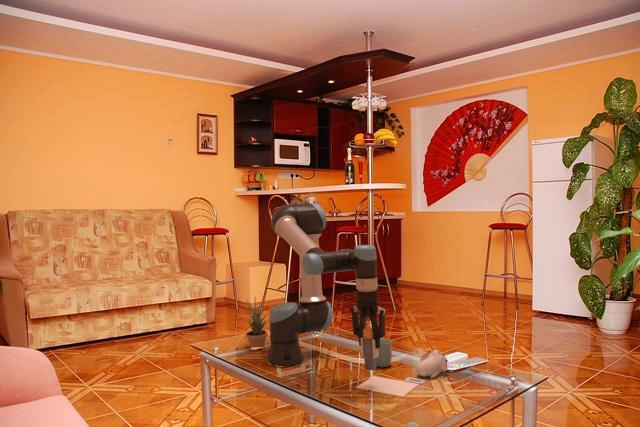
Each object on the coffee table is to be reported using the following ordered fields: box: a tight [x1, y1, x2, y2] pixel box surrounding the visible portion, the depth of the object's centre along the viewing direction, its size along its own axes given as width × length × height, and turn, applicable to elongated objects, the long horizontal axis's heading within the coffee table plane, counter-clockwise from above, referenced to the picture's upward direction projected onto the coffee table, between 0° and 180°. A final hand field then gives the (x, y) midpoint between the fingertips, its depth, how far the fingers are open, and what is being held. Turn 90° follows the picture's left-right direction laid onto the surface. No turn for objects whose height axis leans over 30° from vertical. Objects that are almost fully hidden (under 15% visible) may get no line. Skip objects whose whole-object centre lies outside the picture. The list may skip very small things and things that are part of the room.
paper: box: [355, 375, 420, 398], centre depth 186 cm, size 18×13×1 cm
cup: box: [376, 337, 393, 368], centre depth 208 cm, size 8×8×10 cm
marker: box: [363, 326, 377, 371], centre depth 186 cm, size 4×4×14 cm
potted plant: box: [245, 297, 268, 348], centre depth 239 cm, size 10×10×25 cm
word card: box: [402, 376, 427, 385], centre depth 191 cm, size 7×4×1 cm, turn 56°
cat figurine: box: [415, 349, 449, 379], centre depth 197 cm, size 10×8×15 cm
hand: (370, 356), depth 186 cm, fingers closed on marker, 4 cm apart
